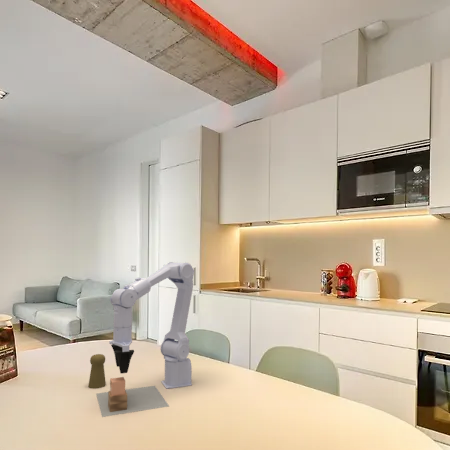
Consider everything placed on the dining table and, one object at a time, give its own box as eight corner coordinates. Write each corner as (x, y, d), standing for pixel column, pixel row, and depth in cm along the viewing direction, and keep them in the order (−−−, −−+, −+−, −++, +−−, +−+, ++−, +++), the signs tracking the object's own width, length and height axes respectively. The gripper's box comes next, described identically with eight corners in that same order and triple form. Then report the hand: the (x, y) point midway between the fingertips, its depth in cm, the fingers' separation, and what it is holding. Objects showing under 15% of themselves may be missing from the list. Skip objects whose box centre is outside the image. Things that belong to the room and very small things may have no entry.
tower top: (124, 396, 121) (124, 389, 121) (127, 402, 116) (127, 394, 117) (108, 398, 119) (108, 391, 119) (110, 404, 114) (110, 397, 115)
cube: (123, 390, 120) (123, 376, 121) (125, 394, 117) (125, 380, 117) (110, 391, 119) (110, 378, 119) (111, 396, 115) (111, 382, 115)
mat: (154, 386, 137) (154, 385, 137) (169, 406, 119) (169, 406, 119) (96, 394, 129) (96, 393, 129) (102, 417, 111) (102, 416, 111)
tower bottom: (124, 403, 121) (124, 396, 121) (127, 409, 116) (127, 402, 116) (108, 406, 119) (108, 398, 119) (110, 412, 114) (110, 404, 114)
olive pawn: (100, 389, 133) (101, 357, 134) (84, 388, 135) (85, 356, 135) (109, 383, 139) (109, 353, 140) (93, 382, 141) (94, 352, 141)
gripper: (107, 323, 129) (106, 364, 128) (112, 331, 116) (112, 377, 115) (128, 321, 132) (127, 362, 131) (136, 329, 118) (135, 374, 118)
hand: (121, 369), depth 123 cm, fingers open, 7 cm apart
